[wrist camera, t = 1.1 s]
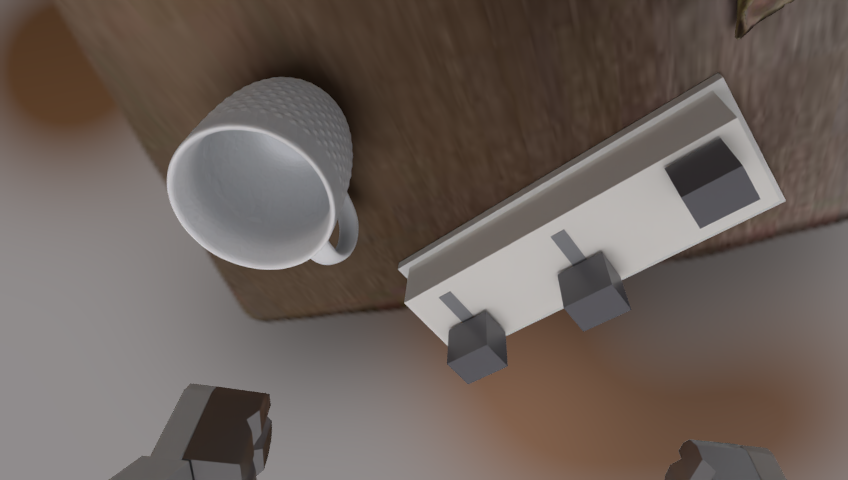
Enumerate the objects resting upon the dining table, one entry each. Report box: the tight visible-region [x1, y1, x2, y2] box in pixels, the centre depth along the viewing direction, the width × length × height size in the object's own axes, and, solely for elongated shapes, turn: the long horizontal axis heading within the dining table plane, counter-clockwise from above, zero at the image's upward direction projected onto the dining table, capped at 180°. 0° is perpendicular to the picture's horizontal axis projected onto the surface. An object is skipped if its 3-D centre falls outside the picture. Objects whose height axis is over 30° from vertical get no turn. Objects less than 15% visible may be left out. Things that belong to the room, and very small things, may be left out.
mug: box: [167, 77, 358, 270], centre depth 43 cm, size 15×11×13 cm
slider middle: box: [558, 252, 631, 331], centre depth 45 cm, size 4×3×4 cm
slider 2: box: [664, 138, 760, 229], centre depth 39 cm, size 4×3×4 cm
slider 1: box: [447, 311, 508, 384], centre depth 50 cm, size 4×3×4 cm
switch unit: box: [398, 73, 786, 346], centre depth 50 cm, size 31×13×6 cm, turn 128°
